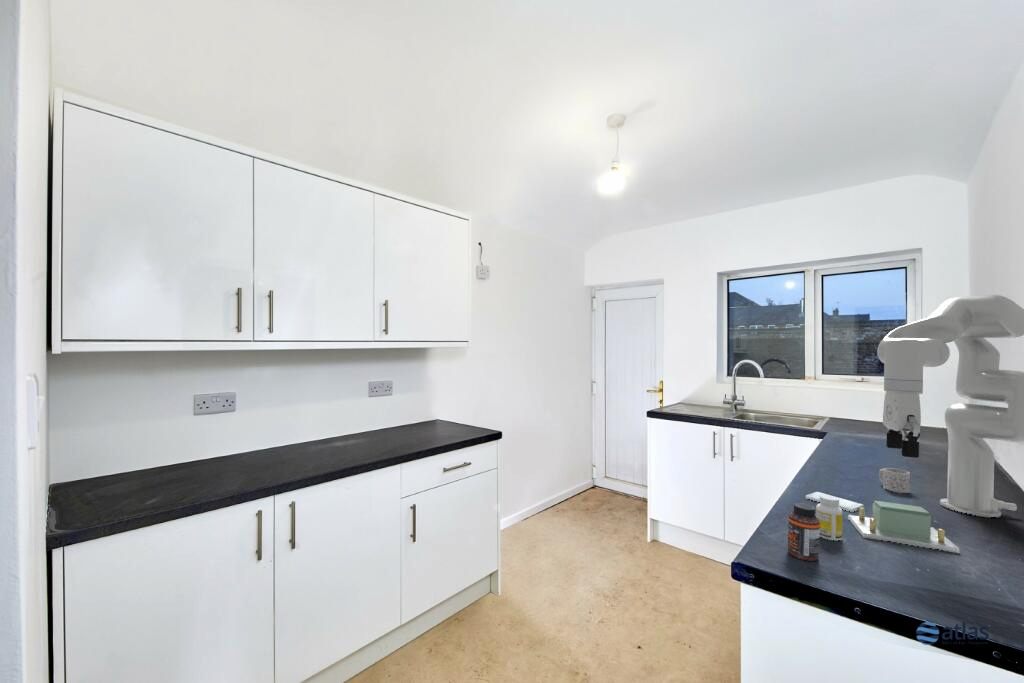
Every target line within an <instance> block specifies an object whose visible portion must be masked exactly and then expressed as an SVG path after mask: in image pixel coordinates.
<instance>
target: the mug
mask: <svg viewBox="0 0 1024 683" xmlns="http://www.w3.org/2000/svg"><path fill="white" fill-rule="evenodd" d="M878 477H879V478H878V479H879V482H881V483H882V487H883V488H884V489H883V488H882V489H883V490H885V489H887V490H889V491H888V492H890V491H893V492H892V493H895V492H897V493H896V494H901V493H909V494H910V483H911V482H910V481H911V480H910V479H911V478H910V477H911V472H910V471H907V470H904V469H899V468H893V467H885V468H881V469H879V473H878ZM887 490H886V491H887Z"/></svg>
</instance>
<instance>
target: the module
mask: <svg viewBox="0 0 1024 683" xmlns="http://www.w3.org/2000/svg"><path fill="white" fill-rule="evenodd" d="M871 518H873V519H876V527H877V528H878V529H879V530H883V531H889V532H895V533H902V534H908V535H914V536H921V537H927V538H930V531H931V527H932V525H931V522H932V516H931V515H930V512H929V511H928V510H926V509H924V508H923V507H922V506H916V505H910V504H903V503H896V502H895V503H894V502H888V501H882V500H881V501H880V500H873V503H872V517H871Z"/></svg>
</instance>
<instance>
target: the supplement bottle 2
mask: <svg viewBox="0 0 1024 683" xmlns="http://www.w3.org/2000/svg"><path fill="white" fill-rule="evenodd" d="M829 495H830V494H827V495H820V502H821V503H817V504H816V506H815V516H816V517H817V518H818V519H819V521H820V538H821V537H822V539H825V540H827V539H828V541H833V540H834V542H837V541H838V540H840V541H842V540H843V519H844V518H843V515H844V514H843V510H842V509H841V508H839V507H838V505H839V499H838V498H839V497H838V498H836V497H837V496H834V497H833V495H831V496H829ZM838 542H839V541H838Z"/></svg>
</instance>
